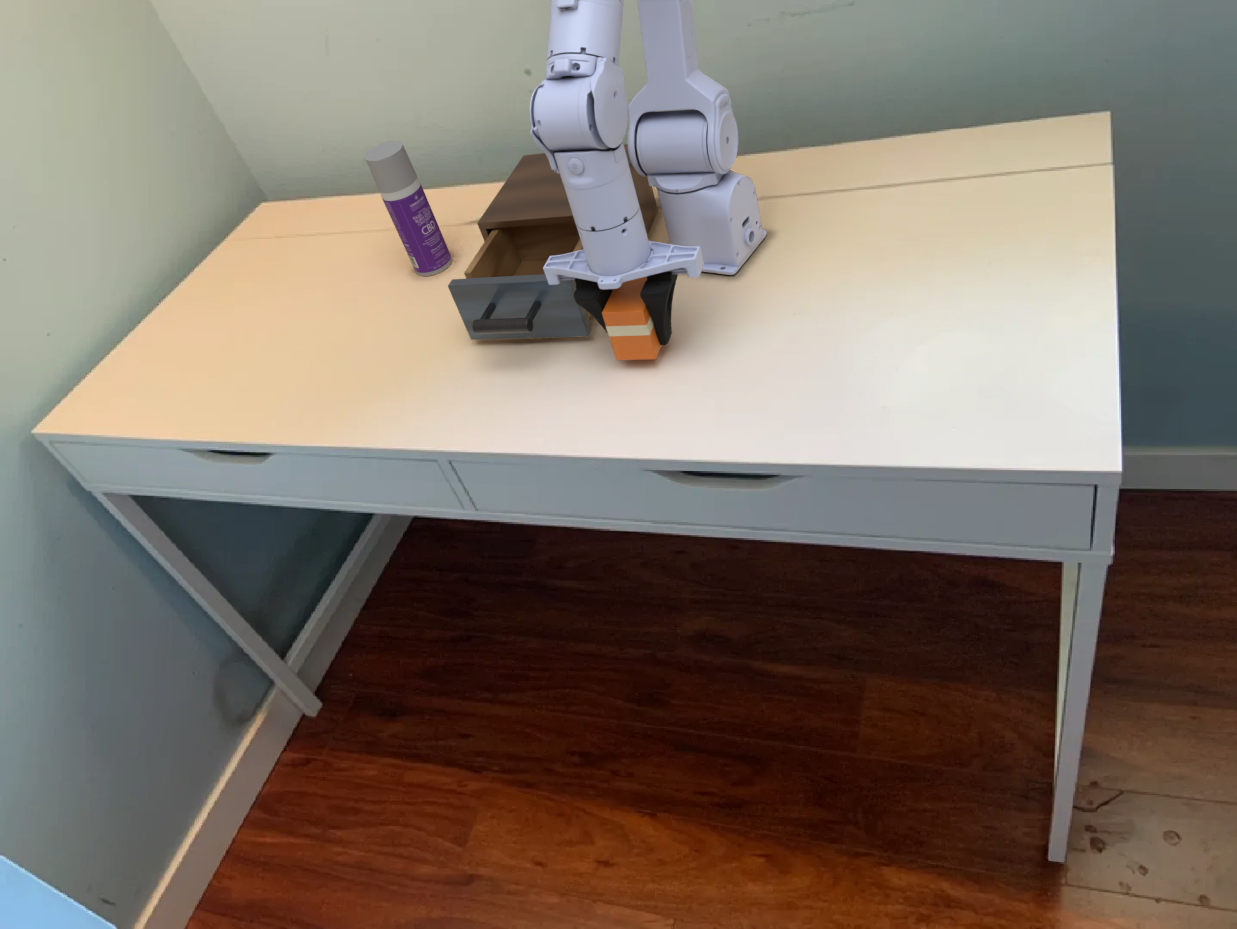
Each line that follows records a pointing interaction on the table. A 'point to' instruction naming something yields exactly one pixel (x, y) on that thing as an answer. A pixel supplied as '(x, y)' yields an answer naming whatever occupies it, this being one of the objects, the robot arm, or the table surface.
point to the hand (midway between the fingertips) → (643, 339)
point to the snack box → (630, 323)
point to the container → (408, 208)
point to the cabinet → (547, 197)
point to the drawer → (520, 286)
